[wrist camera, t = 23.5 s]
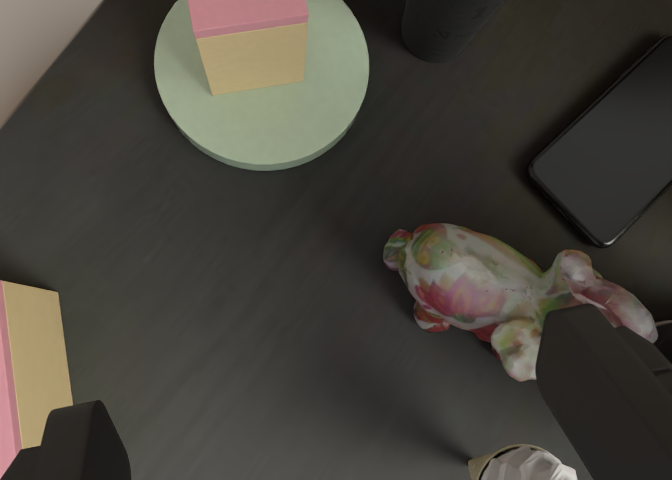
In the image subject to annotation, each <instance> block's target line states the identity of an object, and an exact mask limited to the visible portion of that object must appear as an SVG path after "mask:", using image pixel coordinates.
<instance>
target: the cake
mask: <svg viewBox="0 0 672 480" xmlns="http://www.w3.org/2000/svg"><path fill="white" fill-rule="evenodd" d="M72 405H73V401H72V394H71V386H70V379H69V371H68V364H67V356H66V349H65V341H64V334H63V326H62V319H61V311H60V304H59V296H58V292H55V291H50V290H45V289H40V288H35V287H31V286H26V285H21V284H16V283H11V282H7V281H2V280H0V479H1V477H2V476H3V475H4V473H5V472H6V470H7V469H8V467H9V466H10V464H11V463H12V461H13V460H14V459H15V457H16V456H17V454H18V453H19V451H20V450H21V449H26V448H31V447H35V446H40V445H41V441H42V437H43V432H44V428H45V424H46V420H47V417H48V415H49V413H50V412H51V411H52V410H53V409H57V408H62V407H67V406H72Z"/></svg>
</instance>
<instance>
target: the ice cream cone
mask: <svg viewBox="0 0 672 480" xmlns="http://www.w3.org/2000/svg"><path fill="white" fill-rule="evenodd" d="M468 466H469V471H470V476H471V480H577V476H576V471H575V470H574V469H572V468H571V467H568V466H565V465H563V464H561V462H560V460H559V459H557V458H556V457H555V456H553V455H552V454H551V453H549V452H548V451H545V450H544V449H542V448H540V447H536V446H533V445H528V444H515V445H511V446H507V447H505V448H502V449H500V450H498V451H497V452H494V453H490V454H487V455H484V456H480V457H477V458H474V459H470V460H469V461H468Z"/></svg>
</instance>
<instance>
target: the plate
mask: <svg viewBox="0 0 672 480" xmlns="http://www.w3.org/2000/svg"><path fill="white" fill-rule="evenodd" d="M306 4H307V9H308V13H309V17H308V29H307V42H306V56H305V69H304V81H301V82H295V83H289V84H283V85H276V86H270V87H264V88H258V89H251V90H245V91H239V92H233V93H226V94H220V95H214V96H213V95H212V94H211V90H210V87H209V83H208V80H207V77H206V73H205V70H204V67H203V63H202V60H201V57H200V53H199V50H198V47H197V43H196V40H195V37H194V33H193V29H192V24H191V19H190V13H189V8H188V3H187V0H178V1H177V2H176V3H175V4H174V6H173V7H172V8H171V10H170V11H169V13H168V14H167V16H166V18H165V20H164V22H163V24H162V26H161V29H160V31H159V34H158V37H157V42H156V47H155V54H154V70H155V79H156V83H157V87H158V91H159V94H160V96H161V99H162V101H163V104H164V106H165V108H166V110H167V112H168V113H169V115H170V117H171V119H172V120H173V122H174V124H175V125H176V126H177V128H178V129H179V130H180V132H181V133H182V134H183V135H184V136H185V137H186V138H187V139H188V140H189V141H190V142H191V143H192V144H193V145H194V146H195V147H197V148H198V149H199V150H201V151H202V152H203V153H205V154H207V155H209V156H210V157H212V158H214V159H216V160H218V161H220V162H223V163H225V164H228V165H231V166H234V167H238V168H242V169H249V170H256V171H272V170H282V169H287V168H291V167H295V166H299V165H301V164H304V163H306V162H309V161H311V160H313V159H315V158H317V157H319V156H320V155H322V154H324V153H325V152H326V151H328V150H329V149H330V148H332V147H333V146H334V145H335V144H336V143H337V142H338V141H339V140H340V139H342V137H343V136H344V135H345V134H346V132H347V131H348V130H349V129H350V127H351V126H352V124H353V122H354V121H355V119H356V117H357V115H358V113H359V110H360V108H361V106H362V103H363V100H364V96H365V93H366V89H367V85H368V78H369V56H368V49H367V44H366V41H365V38H364V34H363V32H362V30H361V28H360V25H359V23H358V21H357V20H356V18H355V16H354V15H353V13H352V12H351V10H350V9H349V8H348V6H347V5H346V4H345V3H344V1H343V0H306Z"/></svg>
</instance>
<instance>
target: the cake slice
mask: <svg viewBox="0 0 672 480" xmlns="http://www.w3.org/2000/svg"><path fill="white" fill-rule="evenodd" d="M187 3H188V8H189V13H190V19H191V24H192V29H193V33H194V37H195V40H196V43H197V47H198V50H199V53H200V57H201V60H202V63H203V67H204V70H205V73H206V77H207V80H208V83H209V87H210V90H211V94H212V95H213V96H214V95H220V94H226V93H233V92H239V91H245V90H251V89H258V88H264V87H270V86H276V85H283V84H289V83H295V82H301V81H304V69H305V56H306V42H307V29H308V17H309V13H308V9H307V4H306V0H187Z"/></svg>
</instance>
